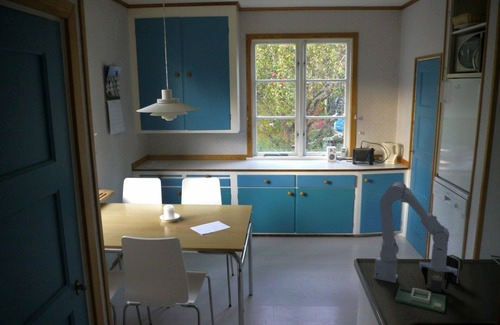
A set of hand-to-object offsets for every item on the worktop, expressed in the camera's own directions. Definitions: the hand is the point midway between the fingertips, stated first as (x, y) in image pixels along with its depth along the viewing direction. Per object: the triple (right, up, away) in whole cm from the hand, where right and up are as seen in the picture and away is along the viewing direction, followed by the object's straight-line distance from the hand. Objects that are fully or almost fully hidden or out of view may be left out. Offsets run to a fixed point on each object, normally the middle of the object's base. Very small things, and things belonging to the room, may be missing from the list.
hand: (436, 286), depth 169 cm
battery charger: (+11, 0, +8) cm, 14 cm away
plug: (0, -1, 0) cm, 1 cm away
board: (-10, -3, -8) cm, 13 cm away
